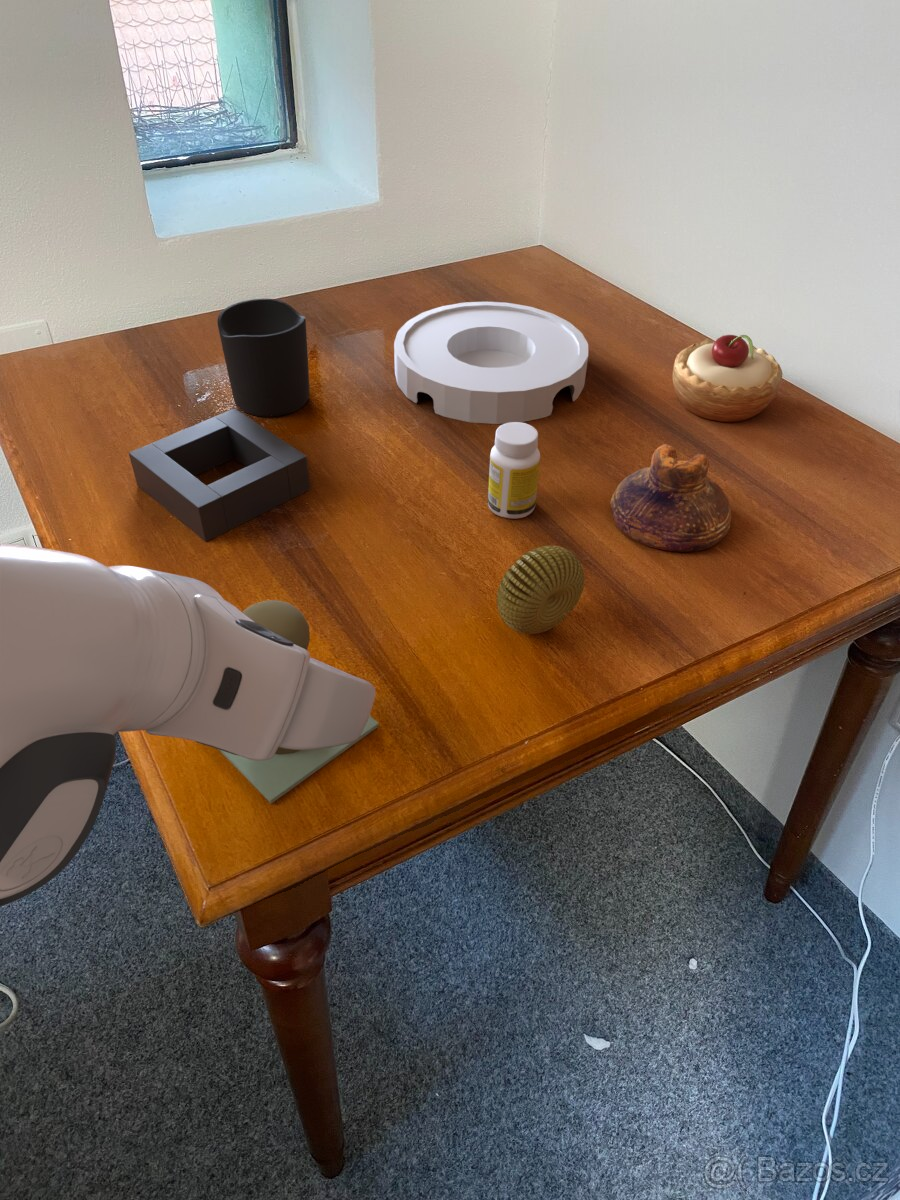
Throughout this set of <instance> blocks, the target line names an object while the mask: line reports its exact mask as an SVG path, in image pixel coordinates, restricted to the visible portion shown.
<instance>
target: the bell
mask: <svg viewBox="0 0 900 1200" xmlns="http://www.w3.org/2000/svg"><path fill="white" fill-rule="evenodd" d="M677 458H678V455H677V450H676V449H675V447H674V446H672V445H671V444H668V443H665V444H662V445H660V446H658V447H656V449H655V450H654V452H653V454H652V456H651V462H650V466H646V467H642V468H641V469H637V470H636V471H634V472H632V473H631V474H629V475H627V476H626V477H624V479H623V480H622V481H620V483H619V484H618V485H617V487H616V488H615V491H614V492H613V494H612V496H611V499H610V501H609V507H610V508H611V513H612V517H613V523H614V524H615V526H616V527H617V528H618V530H620V531H621V532H622V533H623V534H624V535H626V536H627V537H629V538H630V539H631V540H633V541H635V542H638V543H639V544H642V545H644V546H646V547H651V548H654V549H658V550H664V551H670V552H682V553H683V552H684V553H691V552H699V551H704V550H706V549H709V548H712V547H713V546H715V545H717V544H718V543H720V542H721V541H722V540H723V539H724V537H726V536H727V534H728V533H729V532H730V531H729V530H730V528H731V523H732V518H733V516H732V508H731V505H730V502H729V498H728V497H727V495H726V494H725V492H724V490H723V489H722V487H721V486H720V485H719V484H718V483H717V482H716V481H714V480H712V479H711V478H710V477H708V472H709V468H710V461H709V459H708V457H707V456H706V455H705V454H703V453H702V454H701V453H697V454H695V455H694V456H693V457H691V458H690V459H685V460H677Z"/></svg>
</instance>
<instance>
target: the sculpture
mask: <svg viewBox="0 0 900 1200" xmlns="http://www.w3.org/2000/svg"><path fill="white" fill-rule="evenodd" d="M499 583H500V584H499V586H498V589H497V595H496V606H497V610H498V614H499V616H500V618H501V620H502V621H503V622H504V623H505V625H506V626H507V627H509V628H510V629H512V630H513V631H515V632H517V633H521V634H525V635H536V634H540V633H544V632H546V631H549V630H551V629H553V628H555V627H556V626H557V625H560V624H561V623H562V621H564V620H565V619H567V616H570V614H571V612H573V610H574V609H575V607H576V606H577V605H578V603H579V601H580V599H581V597H582V595H583V591H584V587H585V572H584V567H583V565H582V563H581V561H580V559H579V558H578V557H577V555H576V554H575V553H574V552H572V551H570V550H569V549H568V548H565V547H563V546H560V545H550V544H549V545H542V546H539V547H535V548H533V549H531V550H529V551H527V552H526V553H524V554H522V555H520V557H519V558H516V560H515V561H514V563H512V564H511V565H510V566H509V568H508V569H507V570H506V571H505V574H504V575H503V576H502V579H501V581H500V582H499Z"/></svg>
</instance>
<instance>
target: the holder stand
mask: <svg viewBox="0 0 900 1200" xmlns="http://www.w3.org/2000/svg"><path fill="white" fill-rule="evenodd" d="M128 457H129V459H130V465H131V467H132V470H133V475H134V478H135V483H136V486H137V487H138V488H139V489H141V490H142V491H143V492H144V493H145V494H147V495H148V496H149V497H150V498H152V499H153V500H154V501H155V502H156V503H158V504H159V505H160V506H161V507H163V508H164V509H165V510H166V511H167V512H169V513H170V514H171V516H173V517H175V519H177V520H178V521H180V522H181V523H182V524H183V525H184V526H186V527H187V528H188V529H189V530H190V531H191V532H193V533H194V534H195V535H197V536H198V537H199V538H200V539H202V540H203V541H204V542H205V543H206V542H208V541H209V542H210V541H211V540H212V539H214V538H216V537H219V536H221V535H223V534H225V533H226V532H228V531H230V530H233V529H235V528H237V527H239V526H242V524H245V523H247V522H248V521H251V520H253V519H254V518H257V517H259V516H261V515H262V514H264V513H267V512H269V511H270V510H273V509H274V508H276V507H278V506H280V505H282V504H284V503H286V502H288V501H290V500H293V499H294V498H296V497H298V496H301V495H302V494H304V493H306V492H308V491H310V490H311V482H310V481H311V479H310V471H309V462H308V456H307V455H306V454H304V453H303V452H301V451H300V450H298V449H297V448H295V447H294V446H292V445H291V444H290V443H288V442H286V441H285V440H284V439H282V438H280V437H279V436H278V435H275V434H274V433H273V432H272V431H270V430H268V429H267V428H266V427H264V426H263V425H261V424H259V423H257V422H256V421H255V420H253V419H252V418H250V417H248V416H247V415H245V414H244V413H242V412H241V411H239V410H238V409H236V408H231V409H229V410H227V411H225V412H222V413H220V414H218V415H215V416H213V417H210V418H208V419H206V420H203V421H201V422H198V423H195V424H193V425H191V426H189V427H187V428H184V429H182V430H180V431H177V432H175V433H172V434H170V435H167V436H164V437H163V438H160V439H158V440H156V441H153V442H151V443H149V444H146V445H144V446H141V447H139V448H137V449H134V450H131V451H129V452H128ZM233 459H234V460H235V461H237V462H238V463H239V464H241V466H243V467H244V468H241V469H239V470H237V471H234V472H232V473H231V474H228V475H226V476H224V477H222V478H220V479H217V480H216V481H213V482H211V483H209V484H207V485H206V484H205V483H204V482H202V481H201V479H199V478H197V477H196V476H198V475H201V474H203V473H206V472H207V471H210V470H212V469H214V468H217V467H218V466H220V465H223V464H225V463H228V462H229V461H232V460H233Z"/></svg>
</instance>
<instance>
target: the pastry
mask: <svg viewBox="0 0 900 1200" xmlns="http://www.w3.org/2000/svg"><path fill="white" fill-rule="evenodd" d="M745 339H746V340H745ZM671 377H672V378H671V379H672V385H673V389H674V393H675V395H676V396H677V398H678V399H677V400H679V402H680V404H681V405H682V406H683V407H684V408H685V410H688V411H689V412H691V413H692V414H694V415H695V416H698V417H701V418H704V419H706V420H711V421H715V422H720V423H721V422H725V423H726V422H727V423H734V422H741V421H747V420H749V419H752V418H753V417H755V416H756V417H757V415H758V414H760V413H761V412H763V410H765V409H766V408H767V407H768V406H769V405H770V404H771V402H772V401H773V400H774V399H775V397H776V395H777V393H778V391H779V388H780V386H781V383H782V380H783V370H782V367H781V365H780V364H779V363H778V362H777V360H776V358H775V357H774V356H773V355H772V354H770V353H769V354H768V353H767V351H766V350H765V349H764V348H761V347H759V348H757V347H756V346H754V345H753V340H752V338H751V337H749V336H748V335H746V334H741V335H734V334H725V335H722V336H719V337H718V338H717V339H716V340H715V341H711V339H709V338H706V339H704V340H703V341H702V342H700V343H699V342H694V343H693V344H691V345H689V346H687V347H685V348H684V349H683V348H682V350H680V352H679V353H678V354H677V355H676V356H675V360H674V363H673V369H672V376H671Z"/></svg>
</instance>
